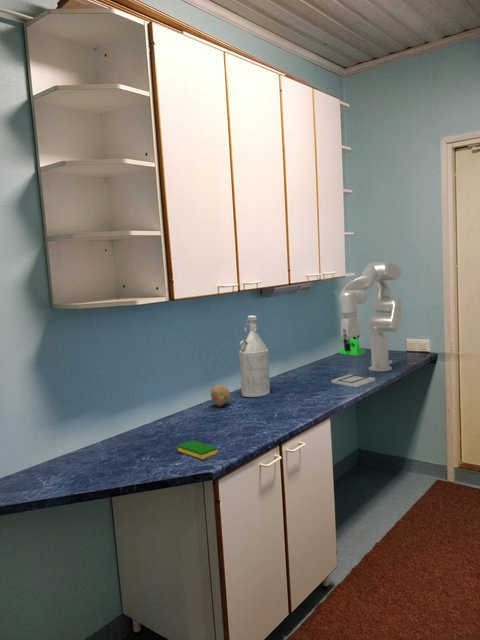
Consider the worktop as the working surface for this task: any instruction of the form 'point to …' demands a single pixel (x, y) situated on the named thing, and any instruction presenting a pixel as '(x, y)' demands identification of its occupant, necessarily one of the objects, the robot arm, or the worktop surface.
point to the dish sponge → (197, 449)
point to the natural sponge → (220, 395)
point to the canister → (254, 364)
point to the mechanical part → (353, 348)
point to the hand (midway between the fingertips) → (351, 349)
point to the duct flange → (353, 380)
